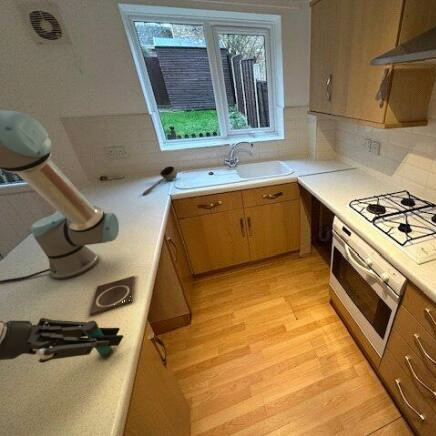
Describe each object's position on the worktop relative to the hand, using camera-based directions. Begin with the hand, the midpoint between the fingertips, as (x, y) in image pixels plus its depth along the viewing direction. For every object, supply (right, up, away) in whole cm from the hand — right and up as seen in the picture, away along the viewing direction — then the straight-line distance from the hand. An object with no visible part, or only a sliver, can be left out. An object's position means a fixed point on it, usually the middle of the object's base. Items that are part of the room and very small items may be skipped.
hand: (118, 336), depth 68 cm
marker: (-3, -4, -1) cm, 5 cm away
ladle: (-52, +59, +117) cm, 140 cm away
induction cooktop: (-15, +6, +18) cm, 24 cm away
